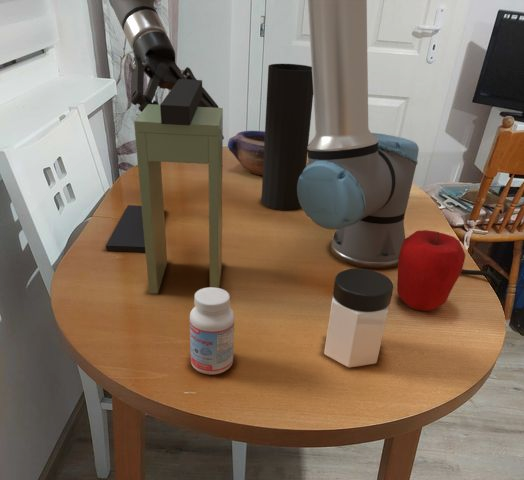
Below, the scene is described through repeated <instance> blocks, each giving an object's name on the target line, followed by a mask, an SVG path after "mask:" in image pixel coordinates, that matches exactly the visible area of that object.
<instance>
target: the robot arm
mask: <svg viewBox="0 0 524 480" xmlns="http://www.w3.org/2000/svg"><path fill="white" fill-rule="evenodd" d="M108 2H109V5H110V6H111V8H112V10H113V12H114V14H115V16H116V18H117V20H118V22H119V24H120V26H121V29H122V31H123V33H124V35H125V38H126V39H127V42H128V44H129V46H130V49H131V51H132V53H133V56H134V57H132V60H131V61H130V63H129V65H128V68H129V71H130V74H131V82H130V83H131V85H130V102H131V104H132V105H134V106H137V105H138V111H139V112H140V113H141V112H142V111H143V110H144V109H145V107H146V106H147V105H148V104H156V105H160V104H159V101H157V100H154V97H155V94H156V92H157V89H158V87H159V89H163V90H165V89H167V90H169V91H171V89H172V88H173V87H174V85H175V84H176V82H177V81H178V80H179V79H189V80H198V79H197V78H196V77H195V75H194V73H193V71H192V70H191V68H190V67H188V66H187V67H185V68H184V69H181V68H180V67H179V66H178V65H177V63H176V51H175V48H174V46H173V44H172V42H171V40H170V38H169V36H168V32H167V31H166V28H165V26H164V23H163V22H162V20H161V18H160V16H159V13H158V11H157V9H156V7H155V2H156V0H108ZM307 7H308V9H307V10H308V24H309V25H308V27H309V43H310V60H311V67H312V78H313V110H314V127H315V134H314V137H313V139H311V141H310V142H309V143H308V147H307V150H308V153H307V164H308V165H306V167H305V169H304V170H303V173H302V174H301V175H300V177H299V179H298V184H297V195H298V199H299V203H300V205H301V207H300V208H301V209H302V211H303V212H304V214H305V215H306V216H307V217H309V218H310V220H311V221H312V222H313V223H314V225H317V226H319V227H321V228H323V229H326V230H332V231H334V230H336V231H335V233H333V236H332V240H331V246H330V250H331V253H332V254H333V256H334V257H335V258H337V259H338V260H340V261H342V262H343V263H346V264H349V265H352V266H355V267H359V268H363V269H371V270H374V269H377V270H379V269H381V270H382V269H390V268H394V267H398V257H399V253H400V250H401V247H402V244H403V241H404V239H406V232H405V230H406V229H405V223H404V222H405V216H406V211H407V208H408V204H409V199H410V194H411V190H412V186H413V181H414V177H415V173H416V168H417V165H418V158H419V151H420V149H419V145H418V143H416V141H413V140H410V139H407V138H405V137H400V136H395V135H390V134H385V133H377V132H371V131H370V129H369V76H368V72H369V70H368V66H369V65H368V64H369V63H368V0H307ZM145 75H146V76H147V77H148V78H149V79H148V80H149V81H148V83H147V85H146V86H147V87H146V89H145V92H144V80H145V78H144V77H145ZM198 107H213V108H220V107H219V105H218V104H217V102H216V101H215V100H214V99H213V97H212V96H211V95H210V94H209V93H208V91H207V90H206V88H204V86H202V98H201V100H200V103H199V105H198ZM224 139H225V137H224V136H223V140H224ZM460 275H468V276H481V277H486V278H488V279H490V281H492V282H493V284H495V285H500V284H501V282H500V280H499V279H498V278H497V276H496V275H495V274H493V273H491V272H489V271H486V270H478V269H473V270H472V269H465V268H463V269H462V272H461V273H460Z"/></svg>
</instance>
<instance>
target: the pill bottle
mask: <svg viewBox="0 0 524 480" xmlns="http://www.w3.org/2000/svg"><path fill="white" fill-rule="evenodd" d="M230 296H231V295H230V293H229V292H228V291H227V290H225V289H223V288H220V287H219V288H215V287H210V286H209V287H203V288H200V289H198V290H197V291H196V292H194V302H193V304H194V307H193V308H192V309H191V311H190V313H189V344H190V345H189V350H190V363H191V366H192V367H193V369H195V370H196V371H197V372H199V373H201V374H205V375H219V374H223V373H224V372H226V371H227V370H229V369H230V368H231V367H232V365H233V363H234V347H235V346H234V343H235V313H234V310H233V309H232V308H231V306H230V305H231V301H230V300H231V298H230Z"/></svg>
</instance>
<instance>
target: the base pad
mask: <svg viewBox="0 0 524 480" xmlns="http://www.w3.org/2000/svg"><path fill="white" fill-rule="evenodd" d="M105 250H106V251H107V252H125V253H146V251H145V240H144V229H143V217H142V206H141V205H135V204H134V205H133V204H128V205H127V206H126V207H125V210H124V211H123V213H122V215H121V217H120V218H119V221H118V222H117V223H116V226H115V228H114V229H113V231H112V233H111V235H110V237H109V239H108V241H107V242H106V244H105Z"/></svg>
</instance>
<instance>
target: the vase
mask: <svg viewBox="0 0 524 480" xmlns="http://www.w3.org/2000/svg"><path fill="white" fill-rule="evenodd" d="M313 104H314V95H313V78H312V65H311V66H310V65H305V64H298V63H297V64H296V63H271V64H268V67H267V87H266V106H265V121H264V123H265V125H264V131H265V141H264V160H263V175H262V178H261V179H262V182H261V199H260V200H261V204H262V205H263V206H265V207H266V208H268V209H272V210H275V211H292V210H297V209H299V208H302V207H301V205H300V203H299V199H298V195H297V184H298V179H299V177H300V175H301V174H302V173H303V170H304V169H305V167H306V166H307V164H308V150H307V147H308V145H309V144H310V142H309V140H310V132H311V122H312V111H313Z"/></svg>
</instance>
